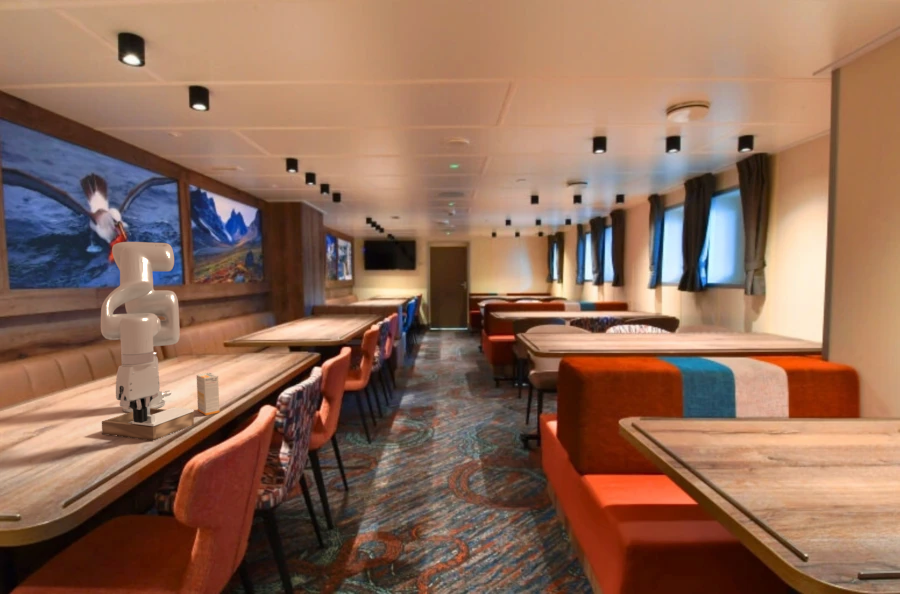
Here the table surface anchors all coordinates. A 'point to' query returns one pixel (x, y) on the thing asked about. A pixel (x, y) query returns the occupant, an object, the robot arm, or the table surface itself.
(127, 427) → the housing
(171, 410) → the lid
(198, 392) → the supplement box
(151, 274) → the robot arm
